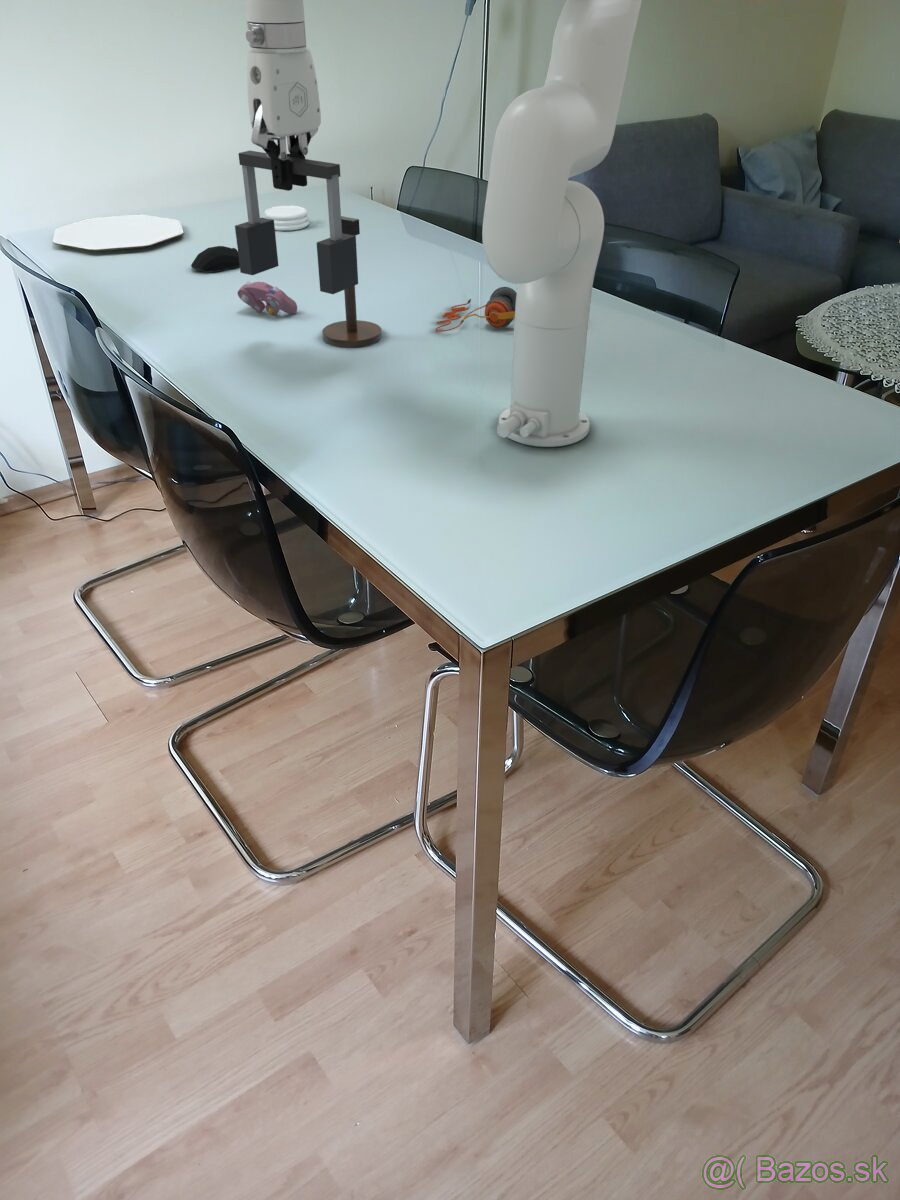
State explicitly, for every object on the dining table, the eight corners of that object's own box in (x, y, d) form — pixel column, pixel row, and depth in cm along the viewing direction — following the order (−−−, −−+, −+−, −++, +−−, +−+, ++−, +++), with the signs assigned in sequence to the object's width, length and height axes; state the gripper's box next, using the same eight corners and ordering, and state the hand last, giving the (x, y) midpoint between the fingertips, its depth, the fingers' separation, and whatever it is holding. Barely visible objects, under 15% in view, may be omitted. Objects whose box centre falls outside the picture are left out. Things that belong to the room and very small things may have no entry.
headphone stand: (357, 352, 149) (350, 229, 138) (310, 339, 154) (300, 220, 142) (393, 334, 156) (389, 216, 145) (347, 323, 160) (340, 207, 149)
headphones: (433, 348, 158) (547, 330, 152) (426, 318, 155) (541, 299, 149) (452, 316, 171) (557, 299, 165) (446, 288, 168) (553, 270, 162)
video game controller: (245, 318, 167) (229, 288, 161) (257, 300, 168) (242, 270, 162) (289, 327, 163) (274, 297, 157) (301, 309, 165) (287, 278, 159)
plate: (57, 226, 212) (55, 219, 211) (178, 218, 218) (177, 211, 218) (52, 259, 191) (51, 252, 190) (187, 249, 197) (186, 241, 196)
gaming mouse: (266, 263, 189) (264, 243, 187) (200, 275, 182) (196, 255, 180) (252, 256, 193) (250, 236, 191) (187, 268, 186) (183, 247, 184)
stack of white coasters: (294, 218, 219) (293, 202, 217) (317, 226, 213) (315, 210, 211) (257, 225, 214) (256, 209, 212) (280, 233, 208) (278, 217, 206)
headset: (333, 294, 133) (324, 170, 123) (240, 272, 141) (225, 154, 131) (358, 284, 137) (352, 162, 127) (267, 263, 145) (254, 147, 136)
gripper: (256, 44, 114) (272, 201, 125) (337, 35, 125) (345, 180, 135) (212, 40, 117) (232, 194, 128) (296, 32, 128) (307, 174, 139)
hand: (290, 185), depth 132 cm, fingers closed on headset, 2 cm apart
